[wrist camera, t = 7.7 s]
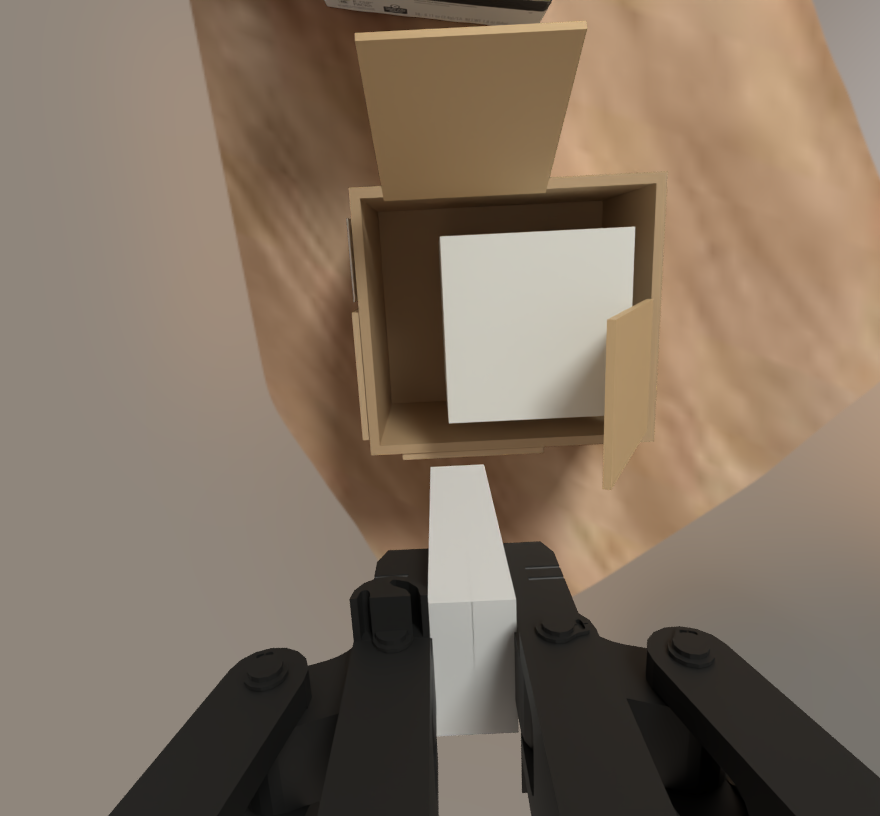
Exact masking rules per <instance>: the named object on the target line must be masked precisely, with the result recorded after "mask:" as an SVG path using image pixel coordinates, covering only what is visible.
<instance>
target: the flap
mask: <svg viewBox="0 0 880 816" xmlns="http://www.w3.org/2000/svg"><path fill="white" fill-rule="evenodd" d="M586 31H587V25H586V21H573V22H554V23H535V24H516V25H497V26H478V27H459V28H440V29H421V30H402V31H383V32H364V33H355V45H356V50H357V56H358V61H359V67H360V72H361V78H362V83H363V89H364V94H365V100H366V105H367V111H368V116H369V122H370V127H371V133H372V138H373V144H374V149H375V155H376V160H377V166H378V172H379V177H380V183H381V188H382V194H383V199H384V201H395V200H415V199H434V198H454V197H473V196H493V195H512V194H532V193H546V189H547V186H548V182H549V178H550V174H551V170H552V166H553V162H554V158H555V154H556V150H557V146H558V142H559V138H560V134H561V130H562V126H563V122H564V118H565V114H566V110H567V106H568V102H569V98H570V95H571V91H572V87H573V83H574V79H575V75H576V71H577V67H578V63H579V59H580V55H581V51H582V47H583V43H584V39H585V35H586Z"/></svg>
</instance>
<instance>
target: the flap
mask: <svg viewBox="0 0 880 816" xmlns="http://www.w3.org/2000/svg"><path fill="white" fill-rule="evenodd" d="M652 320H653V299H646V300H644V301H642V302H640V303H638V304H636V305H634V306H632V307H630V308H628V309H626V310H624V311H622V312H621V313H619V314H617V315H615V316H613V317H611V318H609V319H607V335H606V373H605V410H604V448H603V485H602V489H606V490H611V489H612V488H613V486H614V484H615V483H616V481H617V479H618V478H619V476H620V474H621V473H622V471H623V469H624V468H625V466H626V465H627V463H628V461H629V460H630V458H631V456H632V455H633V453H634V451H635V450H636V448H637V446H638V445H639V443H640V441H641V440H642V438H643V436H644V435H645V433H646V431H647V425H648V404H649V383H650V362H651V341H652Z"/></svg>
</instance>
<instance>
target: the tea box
mask: <svg viewBox="0 0 880 816" xmlns="http://www.w3.org/2000/svg"><path fill="white" fill-rule="evenodd" d="M324 1H325V3H326V5H327V6H328V7H336V8H343V9H349V10H355V11H363V12H376V13H383V14H392V15H398V16H408V17H421V18H430V19H439V20H445V21H453V22H468V23H477V24H485V25H492V26H497V25H516V24H535V23H540V21H541V20H542V18H543V16H544V15H545V13H546V11H547V9H548V7H549V5H550V4H551V1H552V0H324Z"/></svg>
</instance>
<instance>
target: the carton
mask: <svg viewBox="0 0 880 816" xmlns="http://www.w3.org/2000/svg"><path fill="white" fill-rule="evenodd" d="M667 179H668V171H663V172H644V173H624V174H605V175H585V176H566V177H550V178H549V182H548V186H547V189H546V193H532V194H512V195H493V196H473V197H454V198H434V199H415V200H395V201H384V199H383V194H382V188H381V186H371V187H351V188H348V190H349V202H350V213H351V219H349V218H346V220H347V232H348V243H349V255H350V266H351V278H352V289H353V301H354V302H356V301H358V307H359V308H358V309H357V310H355V311H354V312H352V323H353V334H354V345H355V357H356V368H357V379H358V391H359V402H360V413H361V425H362V436H363V440H369V439H370V449H371V455H389V454H403V460H412V459H433V458H453V457H474V456H494V455H514V454H535V453H544V447H552V446H572V445H593V444H604V410H605V373H606V335H607V319H609V318H611V317H613V316H615V315H617V314H619V313H621V312H622V311H624V310H626V309H628V308H630V307H632V306H634V305H636V304H638V303H640V302H642V301H644V300H646V299H653V320H652V341H651V362H650V383H649V404H648V425H647V431H646V433H645V435H644V436H643V438H642V440H641V441H640V442H654V435H655V415H656V395H657V375H658V356H659V336H660V316H661V297H662V277H663V257H664V238H665V218H666V198H667Z"/></svg>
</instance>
